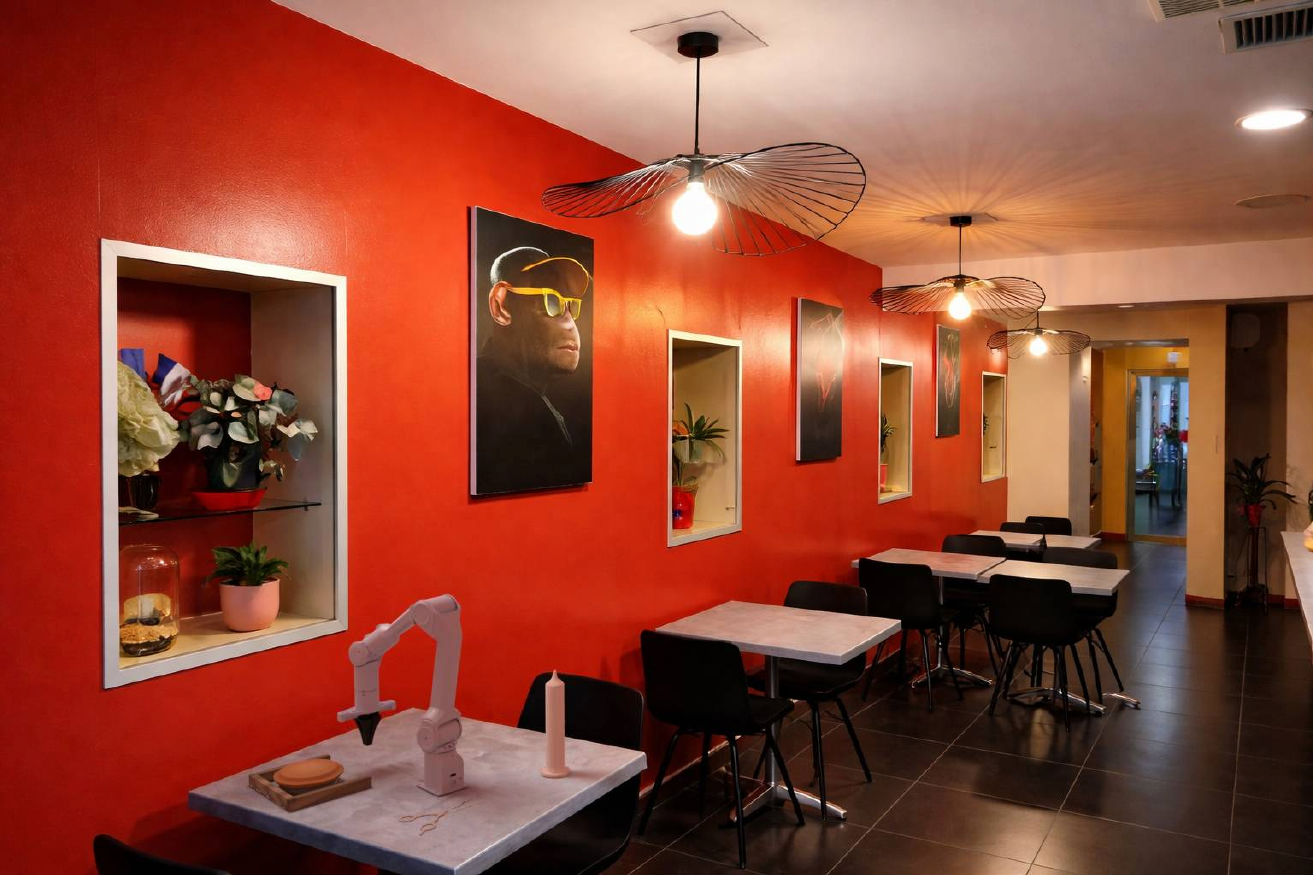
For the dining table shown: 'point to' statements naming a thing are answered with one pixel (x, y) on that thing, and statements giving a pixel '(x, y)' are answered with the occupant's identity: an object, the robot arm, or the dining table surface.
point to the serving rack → (310, 798)
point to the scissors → (439, 814)
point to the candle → (555, 730)
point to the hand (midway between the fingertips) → (367, 744)
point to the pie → (308, 775)
